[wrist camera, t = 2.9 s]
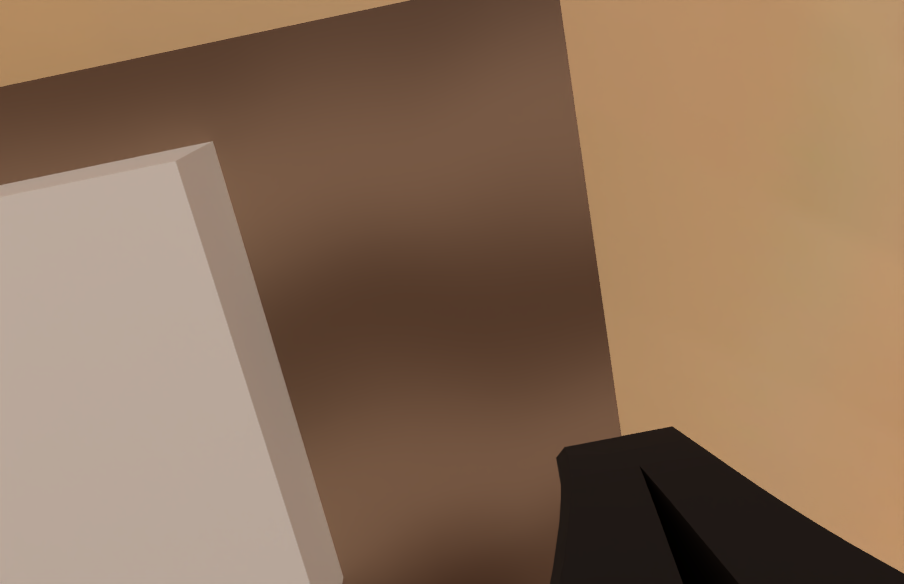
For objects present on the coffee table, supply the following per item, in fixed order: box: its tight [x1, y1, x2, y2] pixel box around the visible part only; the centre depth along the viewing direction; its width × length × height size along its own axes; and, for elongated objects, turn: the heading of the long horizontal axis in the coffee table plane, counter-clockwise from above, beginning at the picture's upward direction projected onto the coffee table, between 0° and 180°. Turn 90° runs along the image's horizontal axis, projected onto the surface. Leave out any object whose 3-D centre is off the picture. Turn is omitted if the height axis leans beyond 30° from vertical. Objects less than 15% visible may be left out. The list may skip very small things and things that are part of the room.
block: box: [0, 141, 343, 584], centre depth 13 cm, size 9×6×2 cm, turn 11°
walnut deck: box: [0, 0, 621, 584], centre depth 16 cm, size 12×18×4 cm, turn 101°
